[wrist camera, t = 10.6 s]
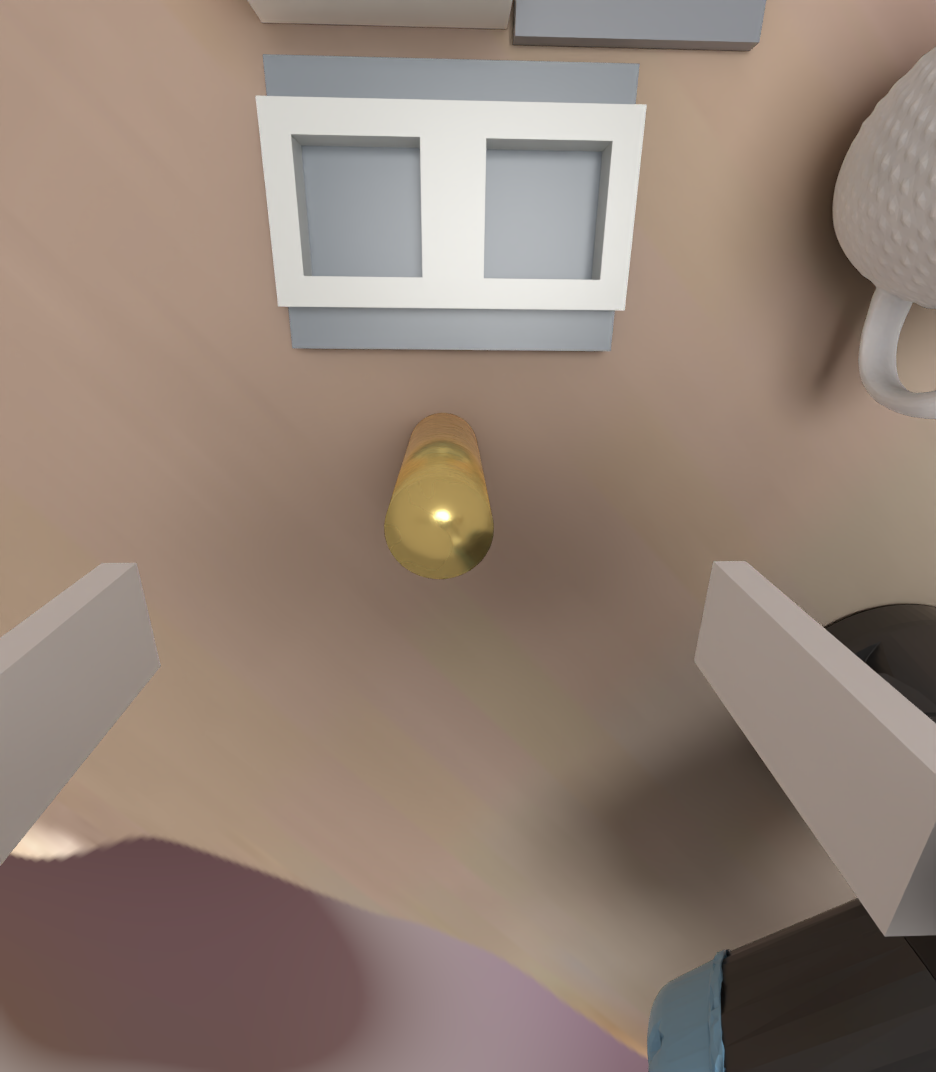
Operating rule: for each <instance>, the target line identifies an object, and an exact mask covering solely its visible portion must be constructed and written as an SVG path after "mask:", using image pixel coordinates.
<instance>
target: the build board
mask: <svg viewBox="0 0 936 1072" xmlns="http://www.w3.org/2000/svg"><path fill="white" fill-rule="evenodd" d="M263 62H264V72H265V82H266V92H267V96H256V104H257V114H258V123H259V132H260V141H261V151H262V160H263V169H264V179H265V188H266V197H267V206H268V216H269V225H270V234H271V244H272V253H273V262H274V272H275V281H276V290H277V299H278V306H283V307H288V309H289V319H290V329H291V338H292V348H323V349H433V350H543V351H611V343H612V333H613V323H614V313H615V310H625V303H626V293H627V284H628V275H629V265H630V256H631V247H632V237H633V228H634V219H635V209H636V200H637V190H638V181H639V172H640V162H641V153H642V144H643V134H644V125H645V115H646V106H647V105H642V104H636V94H637V84H638V74H639V64H629V63H589V62H549V61H509V60H469V59H429V58H389V57H349V56H309V55H269V54H263Z"/></svg>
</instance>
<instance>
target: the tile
mask: <svg viewBox="0 0 936 1072" xmlns="http://www.w3.org/2000/svg"><path fill="white" fill-rule="evenodd" d="M765 4H766V0H514V30H513V45H545V46H584V47H623V48H661V49H700V50H738V51H750V50H751V49H752V48H753V47H754V46H756V45H757V44H758V43H759V41H760V35H761V29H762V22H763V16H764V10H765Z"/></svg>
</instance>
